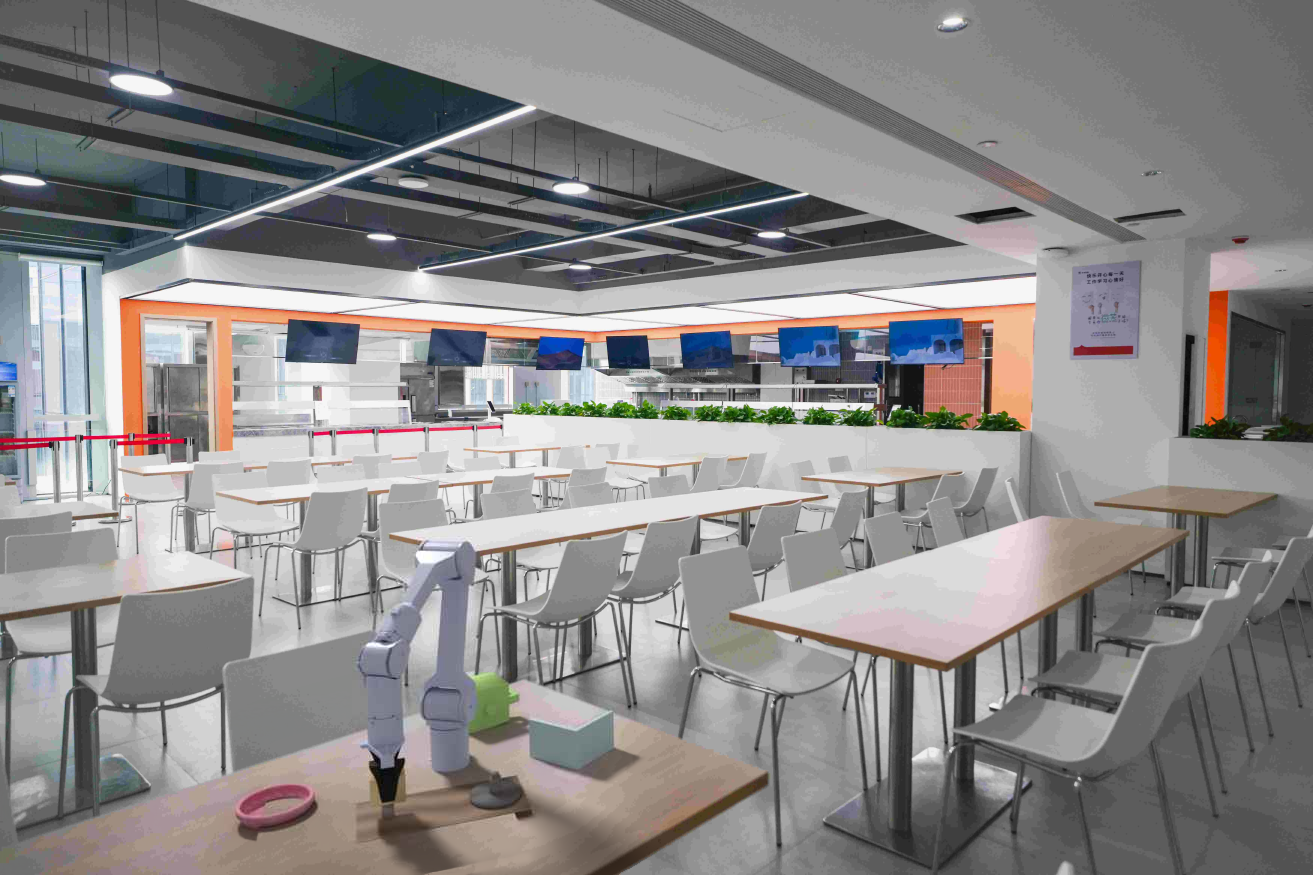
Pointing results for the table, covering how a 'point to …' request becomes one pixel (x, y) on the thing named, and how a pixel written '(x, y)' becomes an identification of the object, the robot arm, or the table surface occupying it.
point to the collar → (374, 792)
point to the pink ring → (254, 803)
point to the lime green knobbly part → (491, 701)
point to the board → (443, 808)
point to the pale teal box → (571, 741)
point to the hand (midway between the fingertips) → (387, 792)
